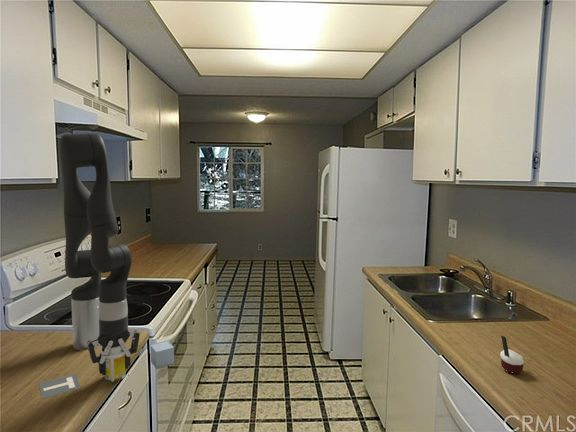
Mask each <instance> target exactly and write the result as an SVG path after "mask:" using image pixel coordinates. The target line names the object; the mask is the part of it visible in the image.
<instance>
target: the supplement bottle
mask: <svg viewBox="0 0 576 432" xmlns="http://www.w3.org/2000/svg"><path fill="white" fill-rule="evenodd" d="M104 362H105V375H103V376H104V380H105V381H107V382H110V383H111V382H117V381H120V380H123V379H124V378H125V377H126V375H127V374H126V369H125V352H124V351H123V349H122V347H121V346H117V347H113V348H110V350H109V353H108V355H107V356H106V358H105V361H104Z"/></svg>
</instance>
